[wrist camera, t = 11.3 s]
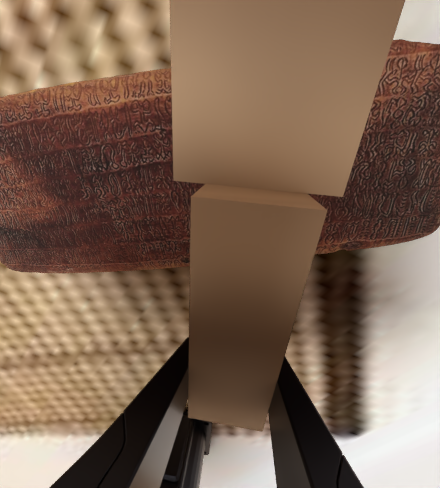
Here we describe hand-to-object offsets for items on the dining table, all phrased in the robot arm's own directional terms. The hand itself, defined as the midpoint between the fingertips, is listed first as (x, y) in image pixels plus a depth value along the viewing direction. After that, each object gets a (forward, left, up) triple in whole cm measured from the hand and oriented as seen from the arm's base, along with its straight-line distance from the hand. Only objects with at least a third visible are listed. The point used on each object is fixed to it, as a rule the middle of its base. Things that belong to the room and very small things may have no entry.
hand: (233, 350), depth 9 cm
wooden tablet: (+5, +4, -6) cm, 9 cm away
